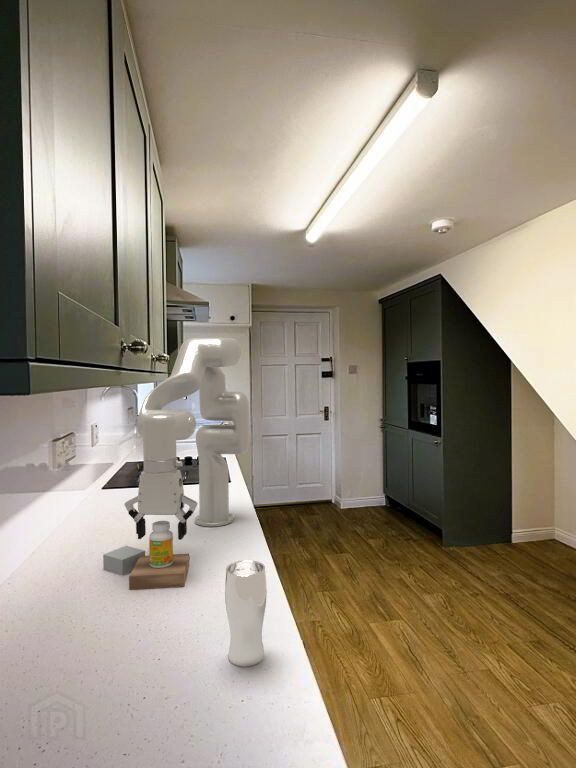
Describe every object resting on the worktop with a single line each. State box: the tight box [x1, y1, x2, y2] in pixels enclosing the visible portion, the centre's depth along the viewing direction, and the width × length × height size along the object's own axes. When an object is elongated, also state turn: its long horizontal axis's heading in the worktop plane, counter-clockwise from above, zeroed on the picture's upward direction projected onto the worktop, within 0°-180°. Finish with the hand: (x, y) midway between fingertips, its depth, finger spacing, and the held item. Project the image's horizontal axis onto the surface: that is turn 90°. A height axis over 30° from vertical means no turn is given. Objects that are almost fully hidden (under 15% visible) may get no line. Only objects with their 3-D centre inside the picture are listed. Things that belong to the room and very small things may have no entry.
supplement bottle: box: [148, 520, 174, 568], centre depth 110 cm, size 5×5×10 cm
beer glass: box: [224, 559, 267, 668], centre depth 79 cm, size 7×7×15 cm
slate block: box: [102, 545, 146, 577], centre depth 116 cm, size 7×7×4 cm
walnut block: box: [128, 553, 191, 591], centre depth 110 cm, size 12×12×3 cm
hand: (161, 537), depth 111 cm, fingers open, 9 cm apart
